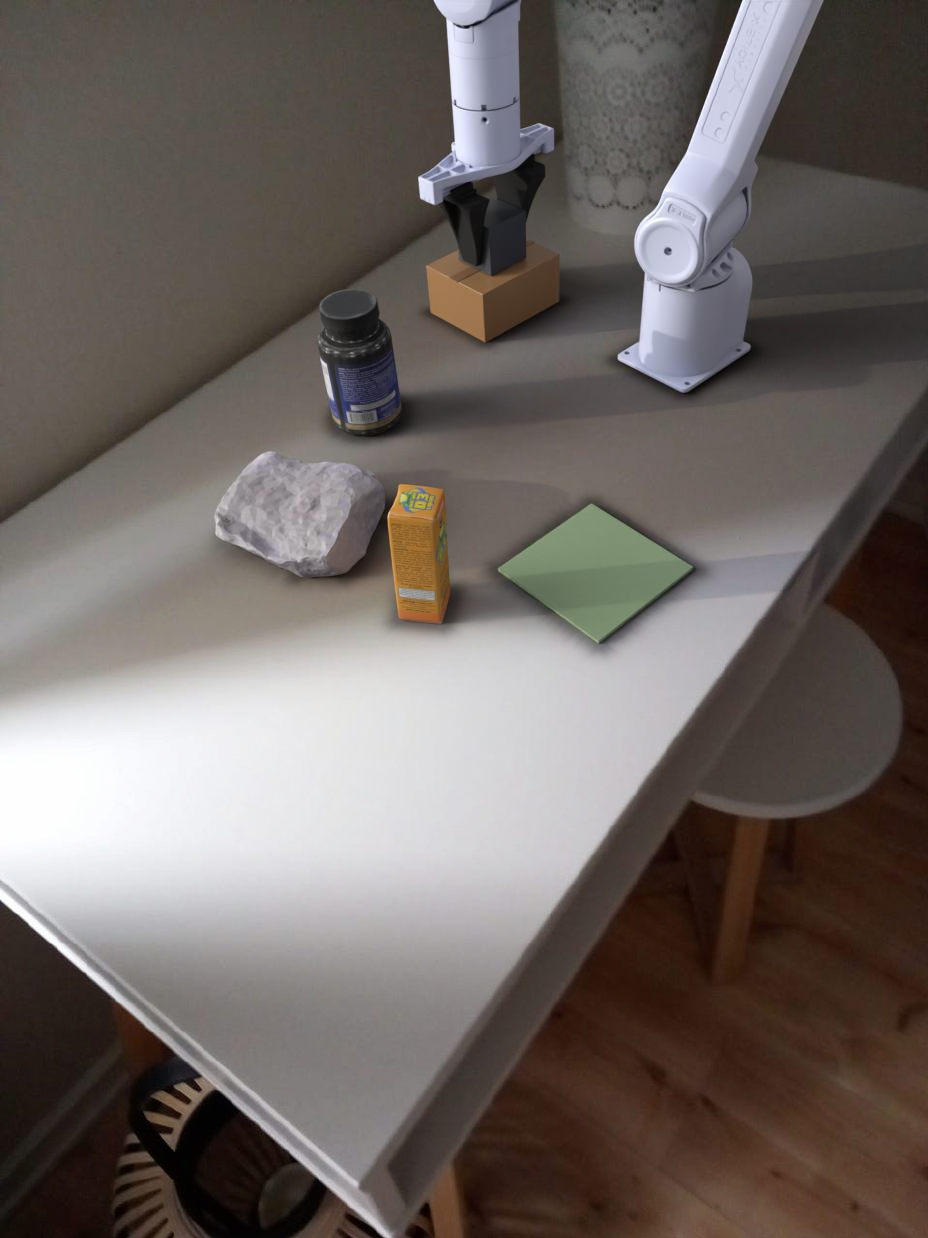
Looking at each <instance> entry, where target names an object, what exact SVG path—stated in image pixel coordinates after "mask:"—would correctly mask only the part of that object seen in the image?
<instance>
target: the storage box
mask: <svg viewBox="0 0 928 1238" xmlns="http://www.w3.org/2000/svg"><path fill="white" fill-rule="evenodd" d="M425 270H426V279H427V289H428V298H429V309H430V313H431V314H432V315H434V316H436V317H437V318H440V319H442V320H443V321H445V322H447V323H449V324H450V325H452V326H454V327H455V328H457V329H460V330H461V331H463V332H465V333H467V334H469V335H471V336H472V337H474V338H476V339H478V340H480V341H481V342H484V343H487V342H490V341H491V340H493V339H494V338H497V337H498V336H500V335H502V334H504V333H505V332H507V331H509V330H511V329H512V328H514V327H516V326H518V325H519V324H521V323H523V322H525V321H527V320H529V319H531V318H533V317H534V316H535V315H537V314H539V313H541V312H543V311H545V310H546V309H548V308H550V307H552V306H553V305H555V304H557V303H559V302H560V253H559V252H556V251H554V250H552V249H549V248H548V247H545V246H543V245H541V244H539V243H536V241H535V240H532V239H530V238H528V237H526V258H525V259H523V260H521V261H519V262H518V263H516V264H514V265H512V266H510V267H508V268H506V269H504V270H502V271H500V272H498V273H496V274H495V275H493V276H490V275H488V274H486V273H484V272H482V271H480V270H478V269H476V268H474V267H472V266H470V265H468V264H466V263H464V262H462V261H460V260H459V255H458V249H457V250H455V251H453V252H451V253H449V254H447V255H445V256H443V257H441V258H439V259H437V260H435V261H432V262H430V263H429V264H427V265H426V266H425Z"/></svg>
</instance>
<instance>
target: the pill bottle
mask: <svg viewBox="0 0 928 1238" xmlns="http://www.w3.org/2000/svg"><path fill="white" fill-rule="evenodd" d="M318 310H319V317H320V321H321V324H322V325H323V327H322V328H321V330H320V331H319V333H318V336H317V342H316V343H317V348H318V355H319V358H320V364H321V369H322V373H323V378H324V383H325V388H326V393H327V397H328V403H329V406H330V411H331V416H332V421H333V424H334V425H335V426H336V427H337V428H338V429H339V430H340V431H343V432H344V433H347V434H350V435H353V436H363V437H364V436H372V435H378V434H381V433H384V432H386V431H388V430H390V429H392V427H394V426H395V425H396V424H397V423H398V422H399V420H400V419H401V417H402V399H401V394H400V393H401V392H400V386H399V378H398V372H397V365H396V358H395V353H394V352H395V350H394V344H393V338H392V334H391V330H390V327H389V326H388V324H387V323H385V322H384V321H383V320H382V319H381V318H380V312H381V311H380V308H379V301H378V299H377V297H376V295H375V294H374V293H373V292H371V291H369V290H366V289H362V288H346V289H341V290H337V291H334V292H332V293H330V294H328V295H327V296H325V297H324V298H323V299H322V300H321V301H320V303H319V307H318Z"/></svg>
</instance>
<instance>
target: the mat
mask: <svg viewBox="0 0 928 1238" xmlns="http://www.w3.org/2000/svg"><path fill="white" fill-rule="evenodd" d="M693 570H694V566H693V565H691V564H689V563H688V562H686V561H685V560H683V559H681V558H680V557H678V556H676V555H675V554H674V553H672V552H670V551H668V550H667V549H666V548H664V547H662V546H661V545H659V544H657V543H656V542H654V541H653V540H651V539H649V538H648V537H646V536H645V535H643V534H641V533H640V532H638V531H636V529H633V528H632V527H630V526H628V525H627V524H626V523H624V522H623V521H621V520H619V519H618V518H616V517H614V516H613V515H611V514H609V513H608V512H606V511H605V510H603V509H601V508H600V507H598V506H597V505H595V504H594V503H592V502H591V503H590V504H588V505H587V506H585V507H584V508H582V509H581V510H580V511H578V512H577V513H575V514H574V515H573V516H571V517H569V518H568V519H567V520H565V521H564V522H562V523H561V524H560V525H558V526H557V527H555V528H554V529H553V530H551V531H550V532H547V534H545V535H543V536H542V537H541V538H540V539H538V540H536V541H535V542H534V543H532V544H531V545H529V546H527V548H525V549H524V550H522V551H520V552H519V553H518V554H517V555H515V556H514V557H512V558H510V559H509V560H508V561H506V562H505V563H503V564H502V565H501V566H499V567H497V571H498V572H499V573H500V574H501V575H503V576H504V577H506V578H507V579H509V580H510V581H511V582H513V584H515V585H517V586H518V587H519V588H521V589H522V590H524V592H526V593H528V594H529V595H530V596H532V597H533V598H534V599H536V600H537V601H538V602H540V603H541V604H542V605H544V606H546V607H547V608H548V609H549V610H551V611H552V612H554V613H555V614H557V615H558V616H560V617H561V618H562V619H564V620H565V621H566V622H568V623H569V624H570V625H572V626H573V627H575V628H576V629H577V630H579V631H580V632H581V633H583V634H584V635H585V636H586V637H589V638H590V639H591V640H593V642H595V643H597V644H600V643H602V642H603V641H604V640H606V639H607V638H608V637H609V636H610V635H612V634H613V633H615V632H616V631H617V630H618V629H620V628H621V627H622V626H623V625H624V624H626V623H627V622H628V621H630V620H631V619H632V618H633V617H635V616H636V615H637V614H639V613H640V612H641V611H642V610H644V609H645V608H646V607H647V606H649V605H650V604H651V603H653V602H654V601H655V600H657V599H658V598H659V597H660V596H661V595H663V593H666V592H667V591H668V590H669V589H670V588H672V587H674V586H675V584H677V583H678V582H680V581H681V580H682V579H683V578H685V577H686V576H687V575H688V574H689V573H691V572H692V571H693Z"/></svg>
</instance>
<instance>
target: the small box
mask: <svg viewBox="0 0 928 1238" xmlns="http://www.w3.org/2000/svg"><path fill="white" fill-rule="evenodd" d="M487 198H488V199H489V200H490V201H489V204H488V207H487V211H486V215H485V221H484V228H483V258H482V264H481V265H479V266H474V265H472V264H469V263H467V262H465V261H463V259H462V256H461V253H460V249H459V246H458V245H457V250H458V255H459V260H460V261H462V262H464V263H466V264H468V265H470V266H472V267H474V268H476V269H478V270H480V271H482V272H484V273H486V274H488V275H490V276H493V275H495V274H496V273H498V272H500V271H502V270H504V269H506V268H508V267H510V266H512V265H514V264H516V263H518V262H519V261H521V260H523V259H525V258H526V238H527V222H526V211H525V210H522V209H520V208H518V207H515V206H513V205H511V204H508V203H506V202H504V201H501V200H499V199H497V197H495V196H493V195H491V196H489V197H487Z"/></svg>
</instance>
